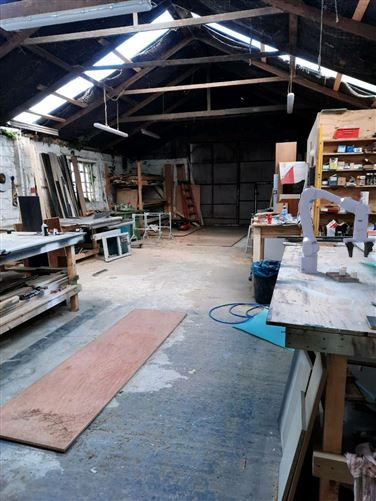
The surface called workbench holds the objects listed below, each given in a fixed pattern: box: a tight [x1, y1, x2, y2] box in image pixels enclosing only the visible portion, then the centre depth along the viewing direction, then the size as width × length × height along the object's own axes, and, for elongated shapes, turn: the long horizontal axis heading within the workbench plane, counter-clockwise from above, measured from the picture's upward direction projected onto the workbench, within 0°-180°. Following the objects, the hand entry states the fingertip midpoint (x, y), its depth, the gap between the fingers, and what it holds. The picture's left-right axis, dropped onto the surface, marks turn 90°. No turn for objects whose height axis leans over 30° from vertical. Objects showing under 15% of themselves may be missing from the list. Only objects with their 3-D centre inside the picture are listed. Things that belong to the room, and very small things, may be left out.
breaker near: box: [350, 270, 358, 278], centre depth 152 cm, size 2×2×3 cm
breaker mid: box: [338, 267, 347, 275], centre depth 157 cm, size 2×2×3 cm
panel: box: [325, 271, 360, 283], centre depth 158 cm, size 10×14×1 cm
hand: (358, 257), depth 156 cm, fingers open, 7 cm apart
